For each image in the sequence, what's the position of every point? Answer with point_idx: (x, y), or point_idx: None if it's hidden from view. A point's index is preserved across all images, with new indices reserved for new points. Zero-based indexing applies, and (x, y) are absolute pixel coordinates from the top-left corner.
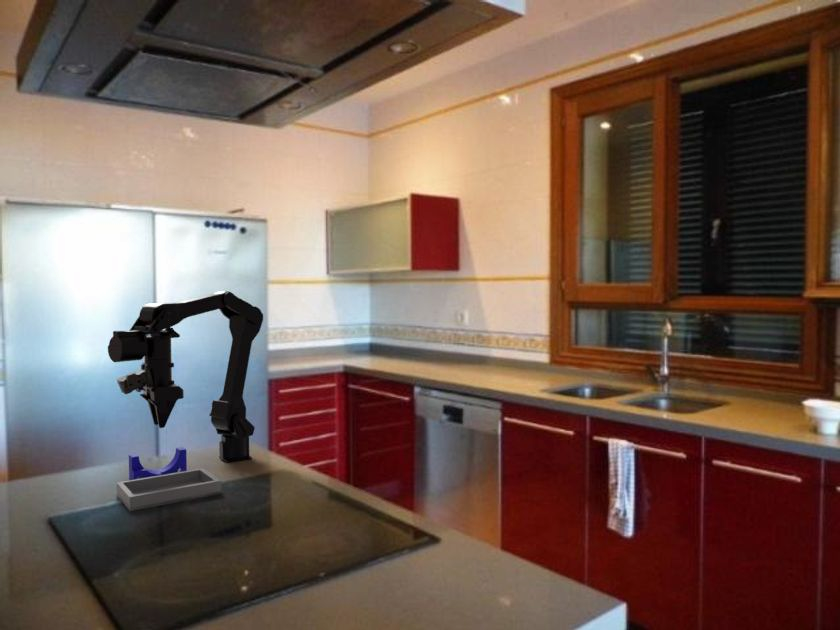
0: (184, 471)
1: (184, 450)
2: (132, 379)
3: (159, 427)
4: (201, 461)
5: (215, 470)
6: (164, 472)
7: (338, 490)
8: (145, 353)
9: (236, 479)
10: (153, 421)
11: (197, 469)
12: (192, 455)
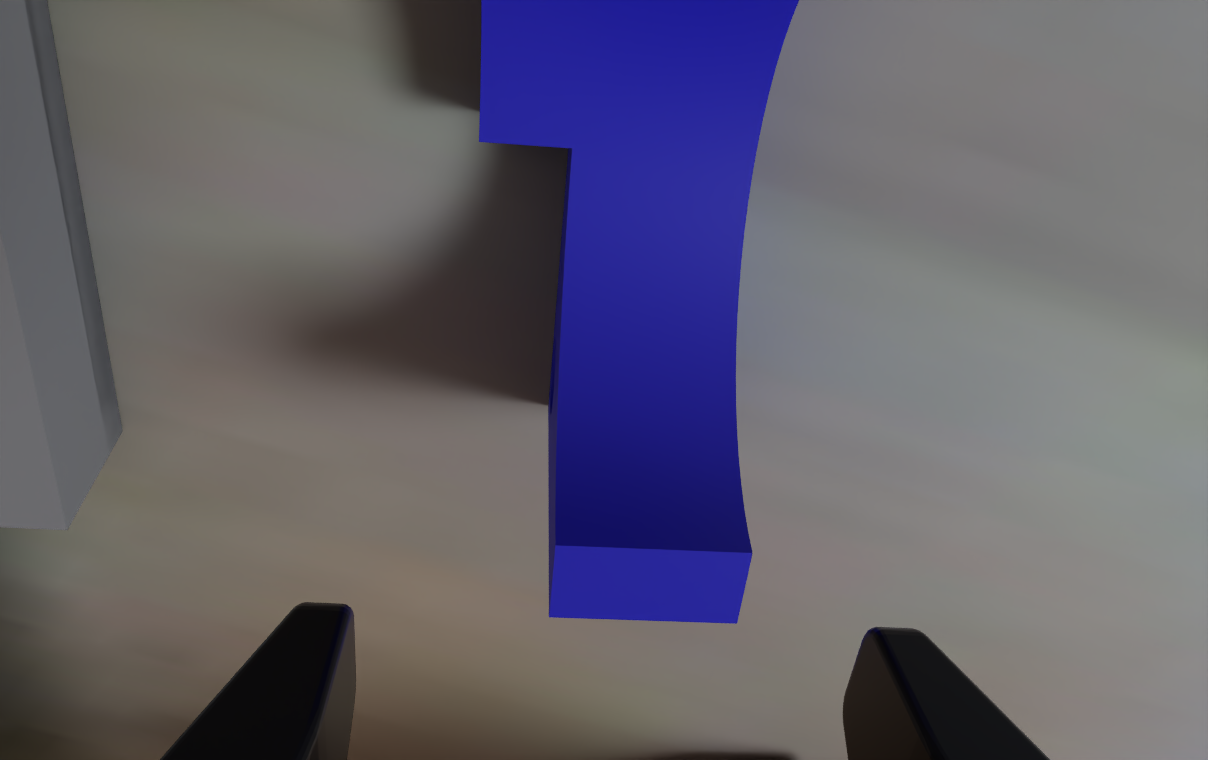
0: (12, 329)
1: (552, 587)
2: None
3: (301, 605)
4: None
5: (477, 628)
6: (567, 199)
7: None
8: None
9: (31, 654)
10: (957, 680)
11: (33, 470)
12: (1198, 652)
